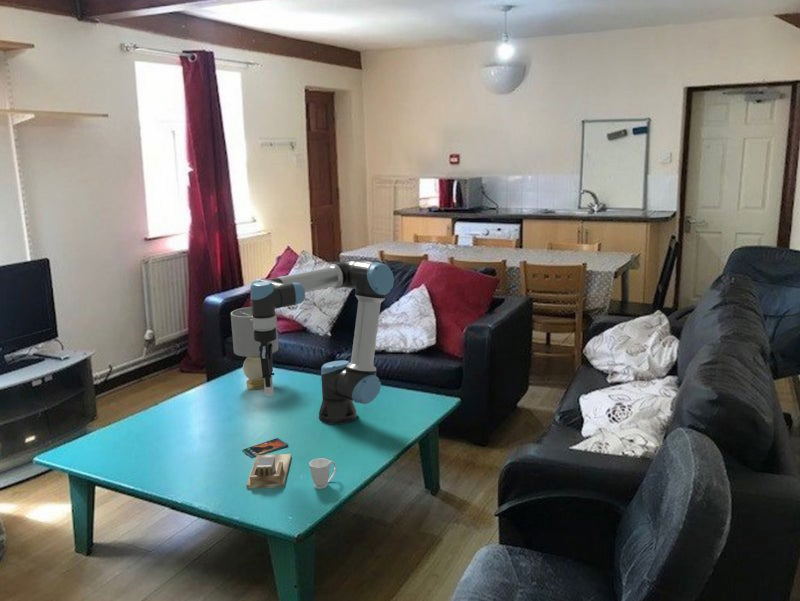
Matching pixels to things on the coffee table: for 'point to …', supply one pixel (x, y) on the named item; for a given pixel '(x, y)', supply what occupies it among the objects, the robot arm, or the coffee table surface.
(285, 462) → the board
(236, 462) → the coffee table surface
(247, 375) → the lamp
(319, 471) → the cup
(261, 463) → the plug
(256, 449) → the smartphone
